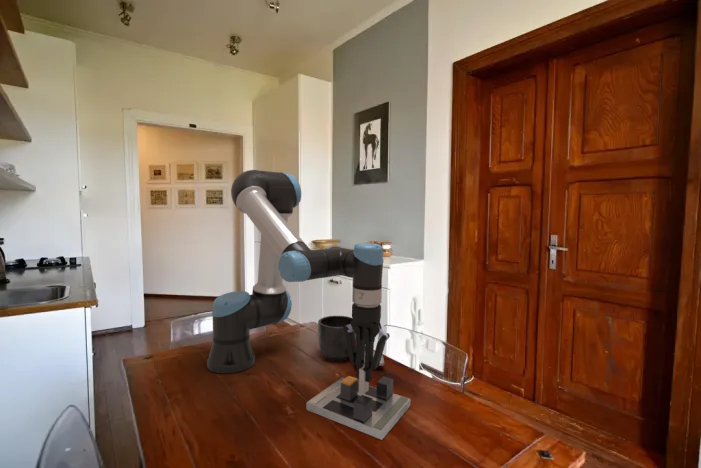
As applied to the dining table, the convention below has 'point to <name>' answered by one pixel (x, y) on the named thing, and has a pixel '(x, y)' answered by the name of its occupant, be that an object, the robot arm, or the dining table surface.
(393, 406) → the panel
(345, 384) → the block
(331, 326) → the planter
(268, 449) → the dining table surface
